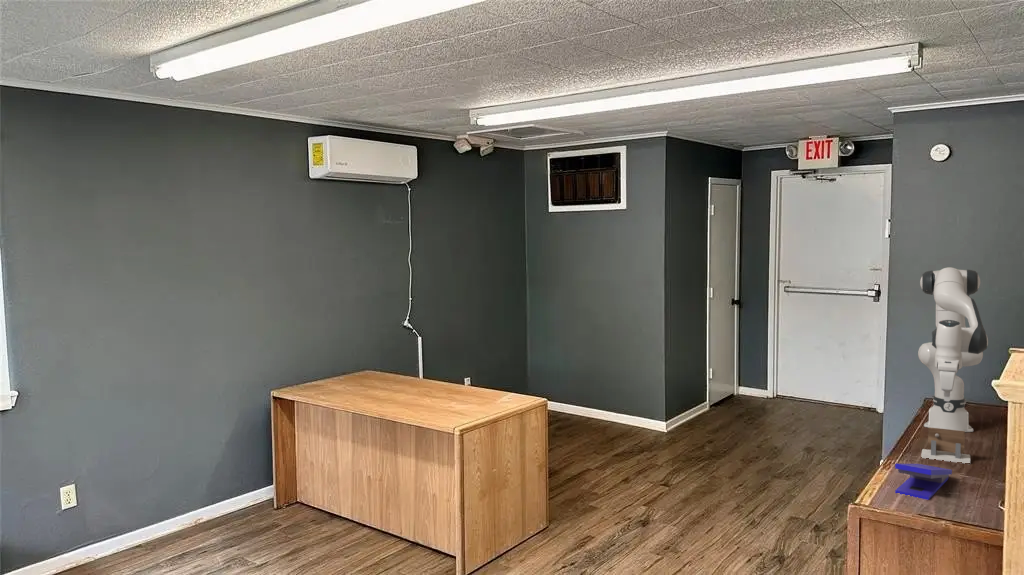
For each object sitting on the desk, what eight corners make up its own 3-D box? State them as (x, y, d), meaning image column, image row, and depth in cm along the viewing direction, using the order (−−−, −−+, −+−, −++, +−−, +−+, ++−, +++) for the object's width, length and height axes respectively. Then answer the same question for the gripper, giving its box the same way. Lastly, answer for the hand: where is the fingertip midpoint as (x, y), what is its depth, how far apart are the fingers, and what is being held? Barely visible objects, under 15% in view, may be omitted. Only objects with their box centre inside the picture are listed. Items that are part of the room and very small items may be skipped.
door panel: (928, 447, 285) (928, 427, 284) (964, 451, 278) (964, 431, 278) (927, 449, 281) (928, 429, 281) (964, 454, 275) (964, 433, 274)
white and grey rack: (922, 452, 288) (922, 435, 287) (970, 458, 279) (970, 440, 279) (921, 457, 281) (921, 440, 281) (970, 464, 273) (970, 445, 272)
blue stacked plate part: (893, 493, 243) (893, 464, 243) (915, 473, 264) (916, 446, 263) (931, 501, 236) (932, 471, 235) (951, 480, 256) (952, 452, 256)
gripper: (939, 358, 289) (938, 392, 290) (937, 366, 272) (936, 402, 273) (958, 359, 286) (957, 394, 287) (957, 367, 269) (956, 404, 270)
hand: (947, 398), depth 280 cm, fingers open, 8 cm apart
